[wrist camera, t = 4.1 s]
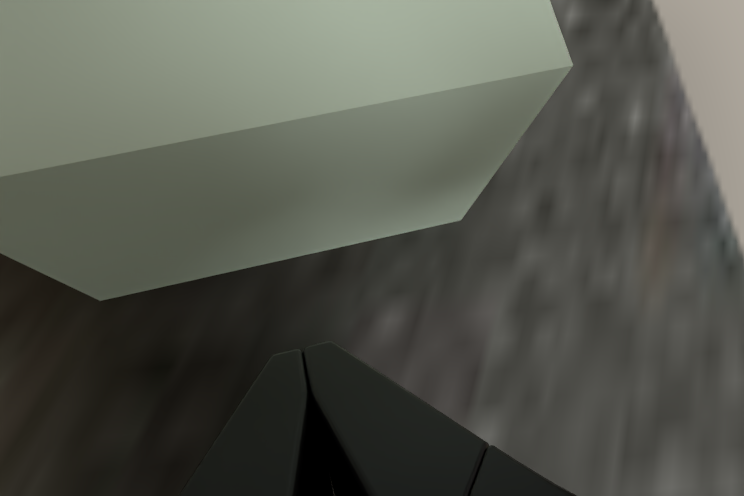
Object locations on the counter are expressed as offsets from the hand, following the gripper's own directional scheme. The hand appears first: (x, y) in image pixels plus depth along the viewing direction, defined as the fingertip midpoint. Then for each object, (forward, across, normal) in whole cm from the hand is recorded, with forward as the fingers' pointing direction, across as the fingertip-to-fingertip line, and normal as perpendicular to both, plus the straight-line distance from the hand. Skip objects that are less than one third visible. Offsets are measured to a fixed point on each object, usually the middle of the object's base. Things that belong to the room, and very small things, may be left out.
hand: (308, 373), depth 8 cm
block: (+14, 0, -2) cm, 15 cm away
